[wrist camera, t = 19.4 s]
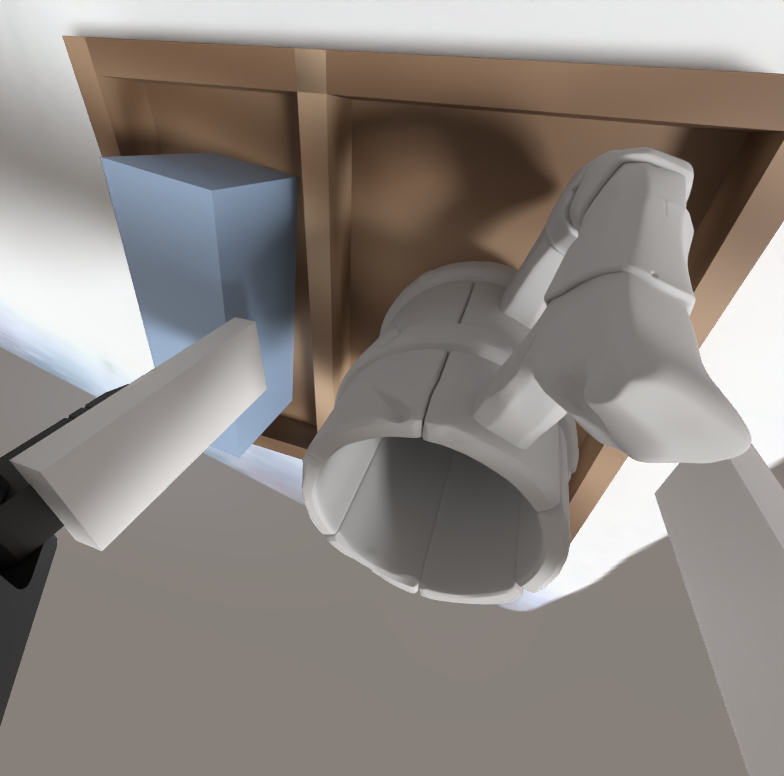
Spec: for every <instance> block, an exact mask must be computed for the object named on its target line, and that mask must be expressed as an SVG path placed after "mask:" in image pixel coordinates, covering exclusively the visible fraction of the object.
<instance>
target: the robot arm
mask: <svg viewBox="0 0 784 776" xmlns="http://www.w3.org/2000/svg"><path fill="white" fill-rule="evenodd" d="M266 390H267V386H266V380H265V374H264V368H263V363H262V357H261V351H260V345H259V339H258V333H257V327H256V322H255V321H251V320H246V319H242V318H237V317H234V318H233V319H231V320H230V321H228V322H227V323H225V324H223V325H222V326H220V327H219V328H217V329H215V330H214V331H212V332H211V333H209V334H208V335H206V336H204V337H203V338H201V339H200V340H198V341H197V342H195V343H193V344H192V345H190V346H189V347H187V348H186V349H184V350H182V351H181V352H179V353H178V354H176V355H175V356H173V357H171V358H170V359H168V360H167V361H165V362H164V363H162V364H160V365H159V366H157V367H156V368H154V369H152V370H151V371H149V372H148V373H146V374H145V375H143V376H141V377H140V378H138V379H137V380H135V381H134V382H132V383H130V384H127V385H124V386H122V387H119V388H117V389H114V390H111V391H109V392H106V393H104V394H103V395H101V396H99V397H98V398H96V399H94V400H93V401H91V402H90V403H88V404H86V405H85V408H80V409H79V410H77V411H75V412H74V413H72V414H71V415H69V418H64V419H62V420H61V421H59V422H57V423H56V424H54V425H53V426H51V427H49V428H48V429H46V430H44V431H43V432H41V433H40V434H38V435H36V436H35V437H33V438H31V439H30V440H28V441H27V442H25V443H23V444H22V445H20V446H19V447H17V448H16V449H14V450H12V451H10V452H9V453H7V454H6V455H4V456H2V457H1V458H0V725H1V722H2V719H3V715H4V712H5V709H6V706H7V703H8V699H9V697H10V693H11V690H12V687H13V684H14V681H15V677H16V674H17V671H18V668H19V665H20V662H21V658H22V655H23V652H24V649H25V646H26V642H27V640H28V636H29V633H30V630H31V627H32V623H33V621H34V617H35V614H36V611H37V608H38V605H39V602H40V598H41V595H42V592H43V589H44V585H45V582H46V579H47V576H48V573H49V570H50V567H51V563H52V560H53V557H54V554H55V551H56V548H57V538H56V537H55V535H54V534H55V533H56V532H57V531H58V530H59V529H61V528H62V527H63V526H65V528H66V529H67V530H68V531H69V533H70V534H71V535H72V536H73V537H74V539H75V540H76V541H79V542H81V543H84V544H86V545H89V546H91V547H93V548H96V549H98V550H100V551H103V549H105V547H106V546H108V545H109V544H110V543H111V542H112V541H113V540H114V539H115V538H116V537H117V536H118V535H119V534H120V533H121V532H122V531H123V530H124V529H125V528H126V527H127V526H128V525H129V524H130V523H131V522H132V521H133V520H134V519H135V518H136V517H137V516H138V515H139V514H140V513H141V512H142V511H143V510H144V509H145V508H146V507H147V506H148V505H149V504H150V503H151V502H152V501H153V500H155V499H156V497H158V496H159V494H161V493H162V491H164V490H165V489H166V488H167V487H168V486H169V485H170V484H171V483H172V482H173V481H174V480H175V479H176V478H177V477H178V476H179V475H180V474H181V473H182V472H183V471H184V470H185V469H186V468H187V467H188V466H189V465H190V464H191V463H192V462H193V461H194V460H195V459H196V458H197V457H198V456H199V455H200V454H201V453H202V452H203V451H204V450H205V449H206V448H207V447H208V446H210V445H211V444H212V443H213V442H214V441H215V440H216V439H217V438H218V437H219V436H220V435H221V434H222V433H223V432H224V431H225V430H226V429H227V428H228V427H229V426H230V425H231V424H232V423H233V422H234V421H235V420H236V419H237V418H238V417H239V416H240V415H241V414H242V413H243V412H244V411H245V410H246V409H247V408H248V407H249V406H250V405H251V404H252V403H253V402H254V401H255V400H256V399H257V398H258V397H259V396H260V395H261V394H262V393H263V392H264V391H266ZM655 496H656V499H657V502H658V505H659V508H660V511H661V514H662V517H663V520H664V523H665V526H666V529H667V532H668V535H669V538H670V541H671V544H672V547H673V550H674V553H675V556H676V559H677V562H678V565H679V568H680V571H681V574H682V577H683V580H684V583H685V586H686V589H687V592H688V595H689V598H690V601H691V604H692V607H693V610H694V613H695V616H696V619H697V622H698V625H699V628H700V631H701V634H702V637H703V640H704V643H705V646H706V649H707V652H708V655H709V658H710V661H711V664H712V667H713V670H714V673H715V676H716V679H717V682H718V685H719V688H720V691H721V694H722V697H723V700H724V703H725V706H726V709H727V712H728V715H729V718H730V721H731V724H732V727H733V730H734V733H735V735H736V738H737V742H738V745H739V748H740V751H741V754H742V757H743V760H744V763H745V766H746V769H747V772H748V775H749V776H784V490H783V488H782V487H781V485H780V484H779V482H778V481H777V479H776V478H775V477H774V475H773V474H772V472H771V471H770V469H769V468H768V466H767V465H766V464H765V462H764V461H763V459H762V458H761V456H760V455H759V454H758V452H757V451H756V449H755V448H754V446H753V445H752V443H751V445H750V447H749V448H748V450H747V451H745V452H744V453H743V454H741V455H739V456H737V457H734V458H730V459H726V460H721V461H717V462H712V463H679V464H678V466H677V467H676V468H675V469H674V471H673V472H672V473H671V474H670V475H669V477H668V478H667V479H666V480H665V482H664V483H663V484H662V485H661V486H660V488H659V489H658V490H657V491H656V493H655Z"/></svg>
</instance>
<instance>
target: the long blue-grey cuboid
mask: <svg viewBox="0 0 784 776" xmlns="http://www.w3.org/2000/svg"><path fill="white" fill-rule="evenodd" d="M100 158H101V162H102V166H103V170H104V174H105V178H106V182H107V185H108V189H109V193H110V197H111V201H112V205H113V208H114V212H115V216H116V220H117V224H118V228H119V232H120V235H121V239H122V243H123V247H124V251H125V255H126V258H127V262H128V266H129V270H130V274H131V278H132V282H133V285H134V289H135V293H136V297H137V301H138V305H139V309H140V312H141V316H142V320H143V324H144V328H145V332H146V335H147V339H148V343H149V347H150V351H151V355H152V359H153V362H154V366H155V368H156V367H157V366H159V365H160V364H162V363H164V362H165V361H167V360H168V359H170V358H171V357H173V356H175V355H176V354H178V353H179V352H181V351H182V350H184V349H186V348H187V347H189V346H190V345H192V344H193V343H195V342H197V341H198V340H200V339H201V338H203V337H204V336H206V335H208V334H209V333H211V332H212V331H214V330H215V329H217V328H219V327H220V326H222V325H223V324H225V323H227V322H228V321H230V320H231V319H233V318H234V317H237V318H242V319H246V320H251V321H255V322H256V327H257V333H258V339H259V345H260V351H261V357H262V363H263V368H264V374H265V380H266V386H267V390H266V391H264V392H263V393H262V394H261V395H260V396H259V397H258V398H257V399H256V400H255V401H254V402H253V403H252V404H251V405H250V406H249V407H248V408H247V409H246V410H245V411H244V412H243V413H242V414H241V415H240V416H239V417H238V418H237V419H236V420H235V421H234V422H233V423H232V424H231V425H230V426H229V427H228V428H227V429H226V430H225V431H224V432H223V433H222V434H221V435H220V436H219V437H218V438H217V439H216V440H215V441H214V442H213V443H212V444H211V445H210V446H212V447H215V448H217V449H220V450H222V451H225V452H227V453H229V454H232V455H234V456H237V457H239V458H240V456H241V455H242V454H243V453H244V452H245V451H246V450H247V449H248V448H249V447H250V446H251V445H252V443H253V442H254V441H255V440H256V439H257V438H258V437H259V436H260V435H261V434H262V433H263V432H264V430H265V429H266V428H267V427H268V426H269V425H270V424H271V423H272V422H273V421H274V420H275V419H276V417H277V416H278V415H279V414H280V413H281V412H282V411H283V410H284V409H285V408H286V407H287V406H288V405H289V403H290V402H291V401H292V391H293V354H294V318H295V281H296V245H297V209H298V176H294V175H291V174H287V173H284V172H280V171H277V170H273V169H269V168H266V167H262V166H259V165H255V164H252V163H248V162H245V161H241V160H238V159H234V158H231V157H227V156H224V155H220V154H217V153H213V152H209V153H186V154H163V155H139V156H116V157H100Z"/></svg>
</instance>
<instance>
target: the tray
mask: <svg viewBox="0 0 784 776" xmlns="http://www.w3.org/2000/svg"><path fill="white" fill-rule="evenodd" d="M62 37H63V40H64V43H65V46H66V49H67V52H68V55H69V58H70V61H71V64H72V67H73V70H74V73H75V76H76V79H77V82H78V85H79V88H80V91H81V94H82V97H83V100H84V103H85V106H86V109H87V112H88V115H89V118H90V121H91V124H92V127H93V130H94V133H95V136H96V139H97V142H98V145H99V148H100V151H101V154H102V157H116V156H139V155H163V154H186V153H209V152H213V153H217V154H220V155H224V156H227V157H231V158H234V159H238V160H241V161H245V162H248V163H252V164H255V165H259V166H262V167H266V168H269V169H273V170H277V171H280V172H284V173H287V174H291V175H294V176H298V209H297V245H296V281H295V318H294V354H293V391H292V401H291V402H290V403H289V405H288V406H287V407H286V408H285V409H284V410H283V411H282V412H281V413H280V414H279V415H278V416H277V417H276V419H275V420H274V421H273V422H272V423H271V424H270V425H269V426H268V427H267V428H266V429H265V430H264V432H263V433H262V434H261V435H260V436H259V437H258V438H257V439H256V440H255V441H254V442H253V443H252V444H254V445H257V446H261V447H264V448H267V449H270V450H273V451H277V452H280V453H283V454H286V455H289V456H292V457H296V458H299V459H302V460H303V456H304V454H305V453H306V451H307V449H308V447H309V445H310V444H311V442H312V441H313V439H314V438H315V436H316V435H317V433H318V432H319V430H320V428H321V427H322V425H323V424H324V422H325V421H326V419H327V418H328V416H329V415H330V413H331V412H332V410H333V409H334V406H335V399H336V395H337V391H338V389H339V386H340V384H341V382H342V380H343V378H344V376H345V375H346V373H347V372H348V370H349V369H350V368H351V366H352V365H353V364H354V363H355V361H356V360H357V359H358V358H359V357H360V356H361V355H362V354H363V353H364V352H365V351H366V350H367V349H368V348H369V347H370V346H371V345H372V344H373V343H374V342H375V341H376V340H377V339H378V338H379V336H380V331H381V327H382V323H383V321H384V318H385V316H386V314H387V312H388V310H389V309H390V307H391V306H392V304H393V303H394V301H395V300H396V298H397V297H398V296H399V295H400V293H401V292H402V291H403V290H404V289H405V288H406V287H407V286H409V285H410V284H411V283H412V282H414V281H415V280H416V279H418V278H419V277H420V276H421V275H423V274H424V273H426V272H428V271H430V270H434V269H436V268H439V267H442V266H445V265H449V264H453V263H459V262H466V261H480V262H485V261H490V262H495V263H500V264H504V265H507V266H509V267H511V268H514V269H516V270H519V268H520V267H521V265H522V264H523V262H524V260H525V259H526V257H527V255H528V254H529V252H530V251H531V249H532V247H533V246H534V244H535V242H536V241H537V239H538V237H539V236H540V234H541V232H542V230H543V229H544V227H545V225H546V223H547V220H548V218H549V216H550V214H551V212H552V210H553V208H554V206H555V204H556V203H557V201H558V199H559V198H560V196H561V194H562V193H563V191H564V189H565V188H566V186H567V185H568V183H569V182H570V180H571V179H572V177H573V176H574V175H575V173H576V172H577V171H578V170H579V169H581V168H582V167H583V166H584V165H586V164H587V163H589V162H590V161H592V160H593V159H595V158H597V157H598V156H600V155H602V154H604V153H606V152H608V151H611V150H623V149H630V148H640V147H647V148H651V149H654V150H657V151H660V152H663V153H666V154H668V155H671V156H674V157H677V158H679V159H682V160H684V161H686V162H688V163H689V164H690V165H691V166H692V168H693V172H694V178H693V183H692V188H691V191H690V195H689V198H688V200H687V202H686V209H687V210H688V212H689V214H690V217H691V222H692V225H693V229H694V233H693V238H692V242H691V246H690V250H689V254H688V272H689V277H690V282H691V286H692V290H693V293H694V296H695V304H694V306H693V309H692V312H691V314H690V316H689V317H690V320H691V323H692V326H693V329H694V332H695V336H696V340H697V344H698V349H699V348H700V347H701V345H702V344H703V342H704V340H705V339H706V337H707V336H708V334H709V333H710V331H711V330H712V328H713V327H714V325H715V324H716V322H717V321H718V319H719V318H720V316H721V315H722V313H723V312H724V310H725V309H726V307H727V306H728V304H729V303H730V301H731V300H732V298H733V297H734V295H735V294H736V292H737V291H738V289H739V288H740V286H741V285H742V283H743V281H744V280H745V278H746V277H747V275H748V274H749V272H750V271H751V269H752V268H753V266H754V265H755V263H756V262H757V260H758V259H759V257H760V256H761V254H762V253H763V251H764V250H765V248H766V247H767V245H768V244H769V242H770V241H771V239H772V238H773V236H774V235H775V233H776V232H777V230H778V229H779V227H780V226H781V224H782V223H783V221H784V74H775V73H756V72H737V71H718V70H699V69H681V68H662V67H643V66H624V65H605V64H586V63H567V62H549V61H530V60H511V59H492V58H473V57H454V56H435V55H417V54H398V53H379V52H360V51H341V50H322V49H303V48H285V47H266V46H247V45H228V44H209V43H190V42H172V41H153V40H134V39H115V38H96V37H77V36H62ZM575 423H576V430H577V438H578V449H579V459H578V464H577V468H576V471H575V472H574V473H572V474H571V479H570V480H569V482H568V485H569V509H570V543H571V542H572V540H573V539H574V537H575V536H576V534H577V533H578V531H579V530H580V528H581V527H582V525H583V524H584V522H585V520H586V519H587V517H588V516H589V514H590V513H591V511H592V510H593V508H594V507H595V505H596V504H597V502H598V501H599V499H600V498H601V496H602V495H603V493H604V492H605V490H606V489H607V487H608V486H609V484H610V483H611V481H612V480H613V478H614V477H615V475H616V474H617V472H618V471H619V469H620V468H621V466H622V465H623V463H624V461H625V460H626V458H627V457H628V455H627V454H626V453H624V452H622V451H619V450H617V449H614V448H612V447H609V446H606V445H604V444H602V443H600V442H599V441H597V440H596V439H595V438H593V437H592V436H591V435H590V434H589V433H588V432H587V431H586V430H584V429H583V428H582V427H581V426H580V425H579V424H578V423H577V422H576V420H575Z"/></svg>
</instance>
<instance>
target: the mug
mask: <svg viewBox="0 0 784 776" xmlns="http://www.w3.org/2000/svg"><path fill="white" fill-rule="evenodd" d="M693 178H694V172H693V168H692V166H691V165H690V164H689V163H688V162H686V161H684V160H682V159H679V158H677V157H674V156H671V155H668V154H666V153H663V152H660V151H657V150H654V149H651V148H647V147H640V148H630V149H623V150H611V151H608V152H606V153H604V154H602V155H600V156H598V157H597V158H595V159H593V160H592V161H590V162H589V163H587V164H586V165H584V166H583V167H582V168H581V169H579V170H578V171H577V172H576V173H575V175H574V176H573V177H572V179H571V180H570V182H569V183H568V185H567V186H566V188H565V189H564V191H563V193H562V194H561V196H560V198H559V199H558V201H557V203H556V204H555V206H554V208H553V210H552V212H551V214H550V216H549V218H548V220H547V223H546V225H545V227H544V229H543V230H542V232H541V234H540V236H539V237H538V239H537V241H536V242H535V244H534V246H533V247H532V249H531V251H530V252H529V254H528V255H527V257H526V259H525V260H524V262H523V264H522V265H521V267H520V268H519V270H516V269H514V268H511V267H509V266H507V265H504V264H500V263H495V262H490V261H485V262H480V261H466V262H459V263H453V264H449V265H445V266H442V267H439V268H436V269H434V270H430V271H428V272H426V273H424V274H423V275H421V276H420V277H419V278H418V279H416V280H415V281H414V282H412V283H411V284H410V285H409V286H407V287H406V288H405V289H404V290H403V291H402V292H401V293H400V295H399V296H398V297H397V298H396V300H395V301H394V303H393V304H392V306H391V307H390V309H389V310H388V312H387V314H386V316H385V318H384V321H383V323H382V327H381V331H380V336H379V338H378V339H377V340H376V341H375V342H374V343H373V344H372V345H371V346H370V347H369V348H368V349H367V350H366V351H365V352H364V353H363V354H362V355H361V356H360V357H359V358H358V359H357V360H356V361H355V363H354V364H353V365H352V366H351V368H350V369H349V370H348V372H347V373H346V375H345V376H344V378H343V380H342V382H341V384H340V386H339V389H338V391H337V395H336V399H335V406H334V409H333V410H332V412H331V413H330V415H329V416H328V418H327V419H326V421H325V422H324V424H323V425H322V427H321V428H320V430H319V432H318V433H317V435H316V436H315V438H314V439H313V441H312V442H311V444H310V445H309V447H308V449H307V451H306V453H305V454H304V456H303V481H302V495H303V498H304V501H305V505H306V507H307V510H308V513H309V516H310V518H311V520H312V522H313V523H314V524H315V526H316V527H317V528H318V530H319V531H320V532H321V533H322V534H327V535H326V538H327V540H328V541H329V542H330V543H331V544H332V545H333V546H334V547H336V548H337V549H338V550H339V551H341V552H342V553H343V554H345V555H347V556H349V557H351V558H353V559H355V560H357V561H358V562H359V563H361V564H363V565H365V566H367V567H369V568H370V569H371V570H372V572H374V573H376V574H378V575H379V576H381V577H382V578H383V579H384V580H386V581H387V582H389V583H391V584H393V585H395V586H397V587H399V588H401V589H403V590H405V591H408V592H411V593H416V592H417V591H418V589H420V595H421V596H424V597H427V598H430V599H435V600H441V601H448V602H457V603H469V604H501V603H508V602H512V601H514V600H516V599H517V598H520V597H522V596H523V588H524V589H525V590H527V591H530V592H533V593H535V592H538V591H539V590H541V589H543V588H544V587H546V586H547V585H548V584H549V583H551V582H552V581H553V580H554V579H555V578H556V577H557V576H558V574H559V573H560V571H561V569H562V567H563V565H564V563H565V561H566V559H567V556H568V551H569V546H570V509H569V485H568V482H569V480H570V479H571V474H572V473H574V472H575V471H576V468H577V464H578V459H579V449H578V438H577V430H576V423H575V420H576V422H577V423H578V424H579V425H580V426H581V427H582V428H583V429H584V430H586V431H587V432H588V433H589V434H590V435H591V436H592V437H593V438H595V439H596V440H597V441H599V442H600V443H602V444H604V445H606V446H609V447H612V448H614V449H617V450H619V451H622V452H624V453H626V454H627V455H628V456H629V457H631V458H632V459H634V460H637V461H640V462H646V463H712V462H717V461H721V460H726V459H730V458H734V457H737V456H739V455H741V454H743V453H744V452H745V451H747V450H748V448H749V447H750V445H751V435H750V433H749V430H748V428H747V426H746V425H745V423H744V421H743V420H742V418H741V417H740V415H739V414H738V412H737V411H736V410H735V408H734V407H733V406H732V404H731V403H730V402H729V401H728V399H727V398H726V397H725V396H724V395H723V393H722V392H721V391H720V389H719V388H718V387H717V386H716V385H715V383H714V382H713V381H712V380H711V378H710V377H709V375H708V374H707V372H706V370H705V368H704V366H703V364H702V361H701V357H700V353H699V349H698V344H697V340H696V336H695V332H694V329H693V326H692V323H691V320H690V317H689V316H690V314H691V312H692V309H693V306H694V304H695V296H694V293H693V290H692V286H691V282H690V277H689V272H688V254H689V250H690V246H691V242H692V238H693V233H694V229H693V225H692V222H691V217H690V214H689V212H688V210H687V209H686V202H687V200H688V198H689V195H690V191H691V188H692V183H693Z"/></svg>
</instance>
